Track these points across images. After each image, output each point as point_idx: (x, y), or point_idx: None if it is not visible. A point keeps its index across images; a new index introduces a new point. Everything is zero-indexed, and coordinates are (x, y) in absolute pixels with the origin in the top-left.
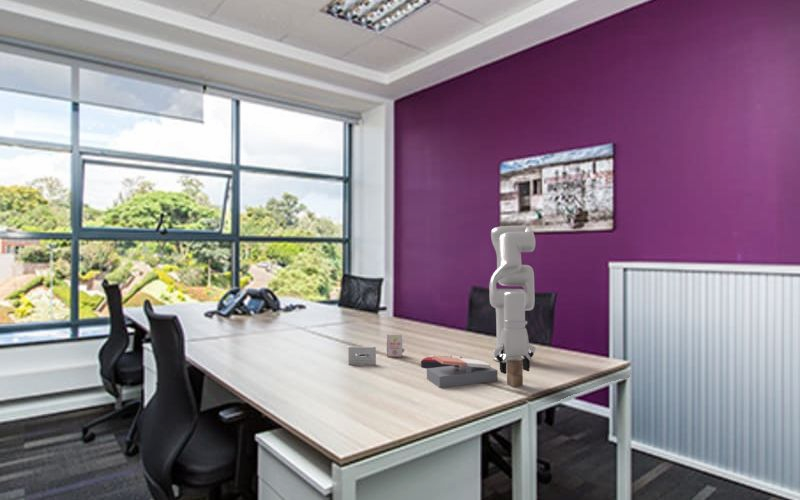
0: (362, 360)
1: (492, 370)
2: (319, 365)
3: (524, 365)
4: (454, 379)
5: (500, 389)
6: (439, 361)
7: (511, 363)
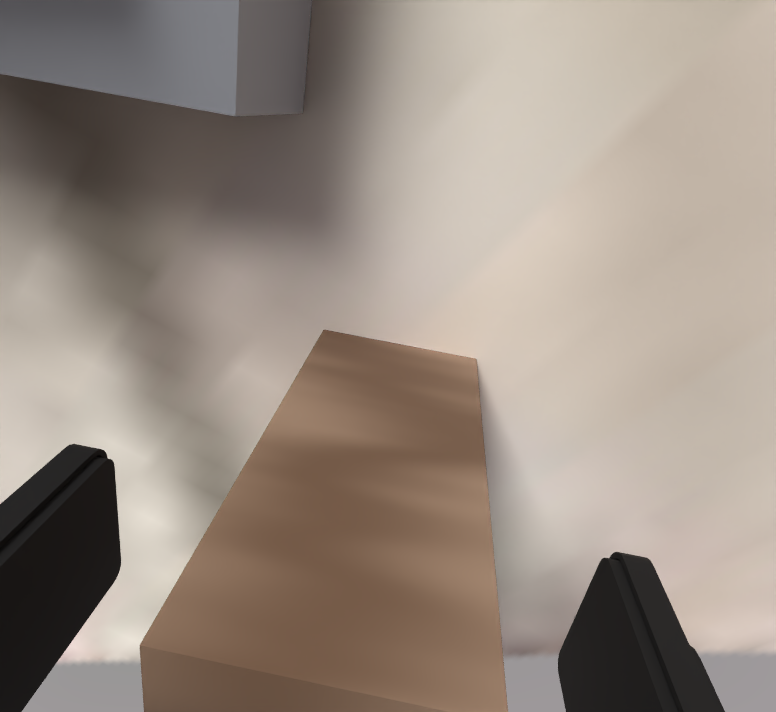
0: None
1: (106, 73)
2: None
3: (610, 679)
4: None
5: (127, 427)
6: None
7: None
